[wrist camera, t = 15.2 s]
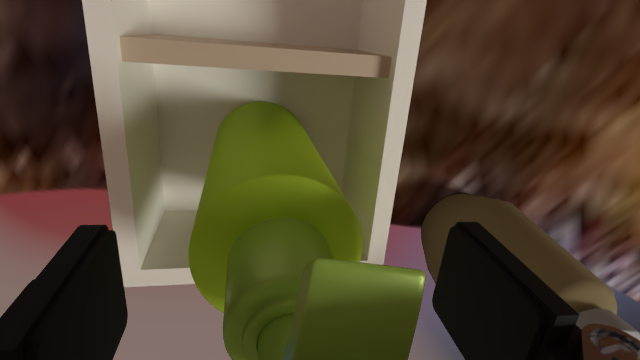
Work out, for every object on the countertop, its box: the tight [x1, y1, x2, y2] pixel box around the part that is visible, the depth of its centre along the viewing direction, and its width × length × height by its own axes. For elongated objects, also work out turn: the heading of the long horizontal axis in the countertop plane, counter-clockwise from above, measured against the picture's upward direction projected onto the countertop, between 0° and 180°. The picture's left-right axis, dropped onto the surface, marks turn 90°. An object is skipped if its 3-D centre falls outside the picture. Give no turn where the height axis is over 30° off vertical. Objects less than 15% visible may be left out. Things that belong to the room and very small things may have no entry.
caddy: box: [82, 0, 427, 287], centre depth 20 cm, size 24×14×8 cm, turn 175°
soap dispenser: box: [188, 101, 426, 360], centre depth 15 cm, size 6×7×20 cm
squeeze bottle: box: [421, 193, 640, 341], centre depth 23 cm, size 8×8×18 cm
